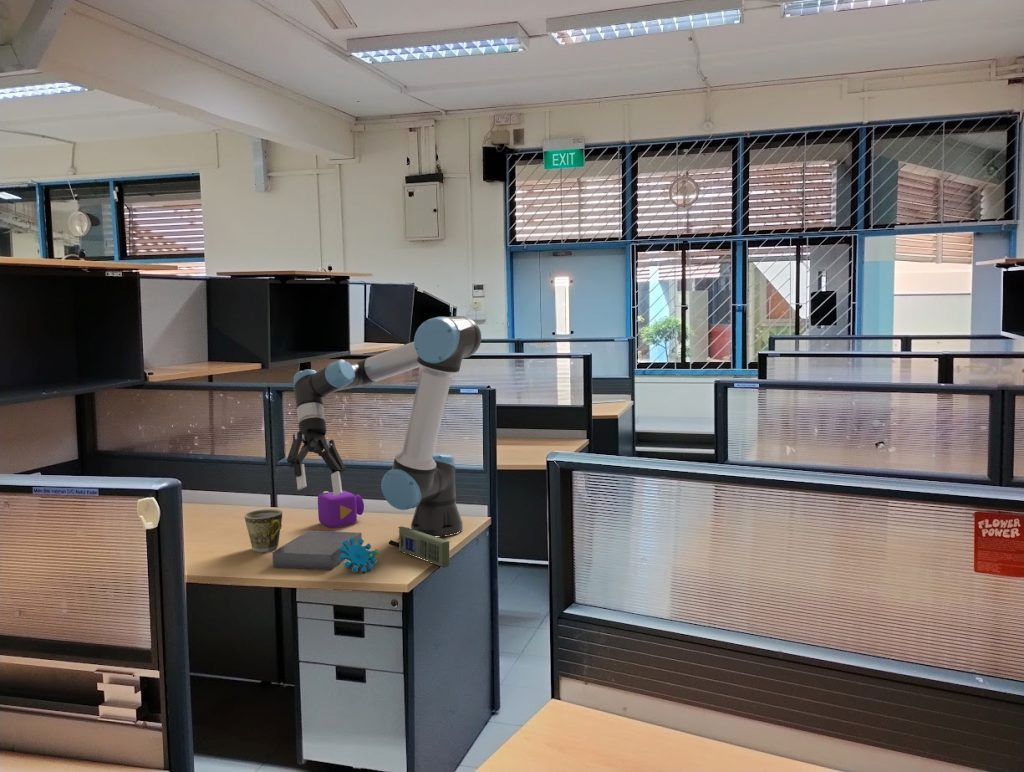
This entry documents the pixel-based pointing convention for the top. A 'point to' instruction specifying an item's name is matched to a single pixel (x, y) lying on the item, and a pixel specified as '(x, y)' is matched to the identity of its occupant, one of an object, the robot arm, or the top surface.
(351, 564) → the gear
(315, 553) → the stand
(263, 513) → the ceramic cup
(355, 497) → the toy camera
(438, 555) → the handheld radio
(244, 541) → the top surface
